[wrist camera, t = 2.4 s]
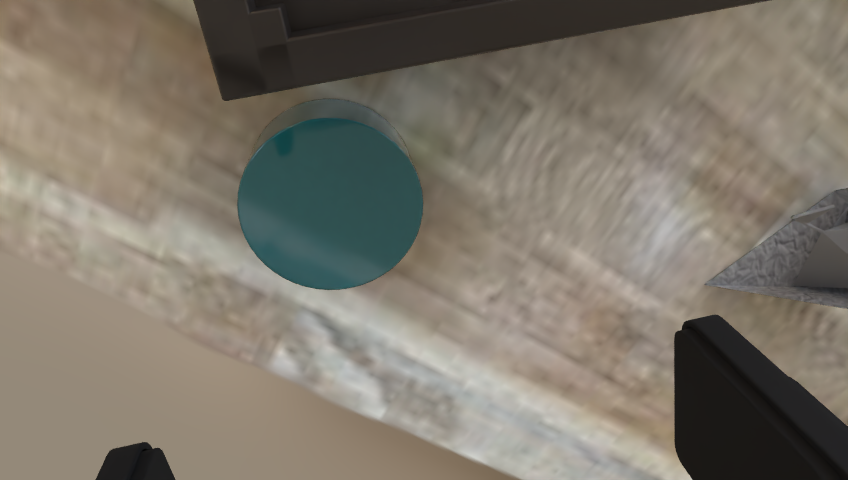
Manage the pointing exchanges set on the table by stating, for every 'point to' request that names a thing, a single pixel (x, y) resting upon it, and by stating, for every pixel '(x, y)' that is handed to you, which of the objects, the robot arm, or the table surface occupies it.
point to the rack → (396, 33)
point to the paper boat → (799, 258)
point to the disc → (330, 195)
